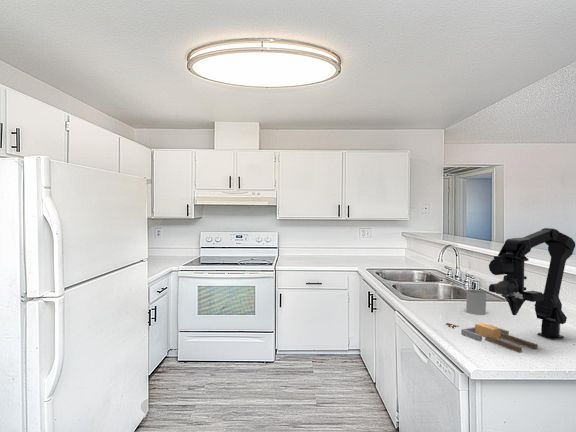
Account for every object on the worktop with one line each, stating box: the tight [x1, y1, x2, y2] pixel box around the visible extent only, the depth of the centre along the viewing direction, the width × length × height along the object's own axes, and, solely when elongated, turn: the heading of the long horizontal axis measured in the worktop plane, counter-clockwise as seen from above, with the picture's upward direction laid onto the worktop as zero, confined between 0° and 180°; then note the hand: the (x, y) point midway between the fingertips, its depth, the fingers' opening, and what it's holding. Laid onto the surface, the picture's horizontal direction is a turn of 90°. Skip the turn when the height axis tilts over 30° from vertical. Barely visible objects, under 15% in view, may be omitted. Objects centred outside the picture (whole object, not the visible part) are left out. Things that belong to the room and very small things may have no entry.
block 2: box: [483, 325, 501, 340], centre depth 158 cm, size 4×4×4 cm
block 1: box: [474, 322, 492, 338], centre depth 162 cm, size 4×4×4 cm
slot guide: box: [484, 333, 538, 353], centre depth 151 cm, size 9×14×2 cm
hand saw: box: [445, 322, 460, 329], centre depth 180 cm, size 24×5×1 cm, turn 34°
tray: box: [460, 324, 510, 342], centre depth 161 cm, size 16×9×2 cm, turn 114°
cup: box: [465, 289, 487, 316], centre depth 195 cm, size 8×8×10 cm
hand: (514, 315), depth 153 cm, fingers closed
